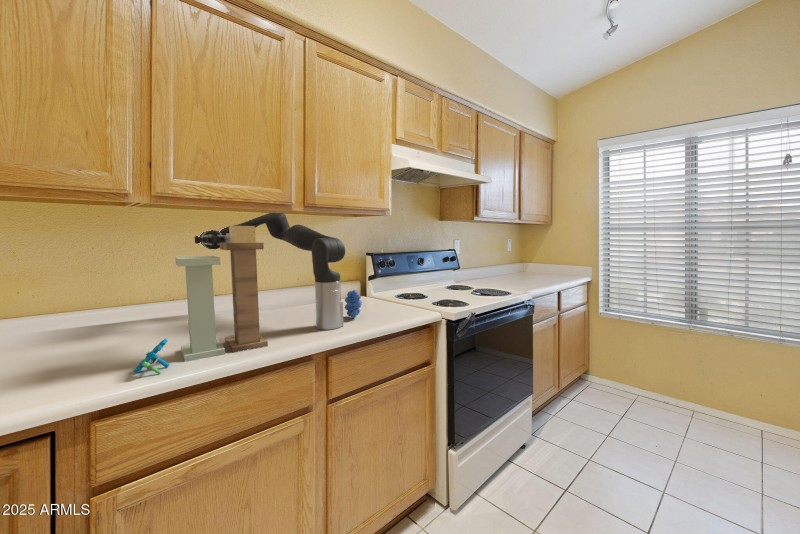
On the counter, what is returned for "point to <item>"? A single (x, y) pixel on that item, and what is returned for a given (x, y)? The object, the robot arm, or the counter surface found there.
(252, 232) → the tan wooden block
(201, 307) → the short stand
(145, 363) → the tinkertoy rod frame
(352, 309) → the grapes
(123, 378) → the counter surface
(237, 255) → the tall stand
